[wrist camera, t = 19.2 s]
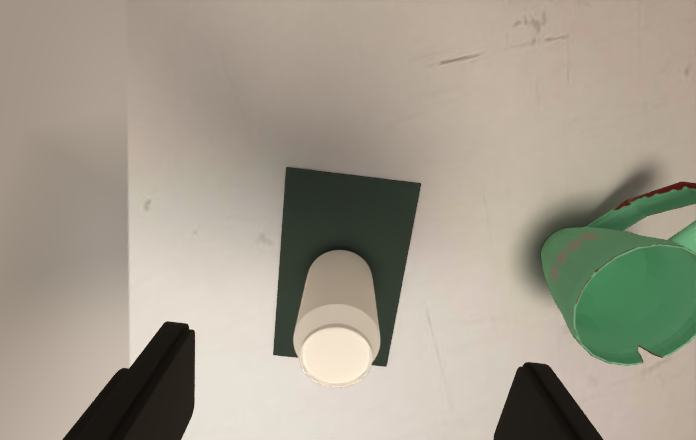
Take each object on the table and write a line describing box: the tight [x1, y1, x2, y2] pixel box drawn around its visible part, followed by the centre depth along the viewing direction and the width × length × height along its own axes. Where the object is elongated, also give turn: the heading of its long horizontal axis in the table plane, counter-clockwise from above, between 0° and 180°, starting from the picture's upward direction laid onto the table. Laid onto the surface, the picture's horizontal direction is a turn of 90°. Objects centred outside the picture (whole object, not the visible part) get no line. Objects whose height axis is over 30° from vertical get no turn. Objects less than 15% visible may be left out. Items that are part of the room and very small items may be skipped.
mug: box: [541, 182, 696, 366], centre depth 30 cm, size 15×10×10 cm
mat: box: [273, 167, 421, 366], centre depth 37 cm, size 20×12×1 cm, turn 173°
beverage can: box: [293, 250, 380, 388], centre depth 31 cm, size 6×6×12 cm
